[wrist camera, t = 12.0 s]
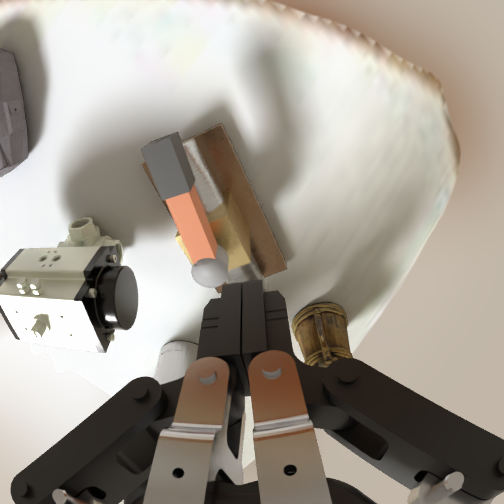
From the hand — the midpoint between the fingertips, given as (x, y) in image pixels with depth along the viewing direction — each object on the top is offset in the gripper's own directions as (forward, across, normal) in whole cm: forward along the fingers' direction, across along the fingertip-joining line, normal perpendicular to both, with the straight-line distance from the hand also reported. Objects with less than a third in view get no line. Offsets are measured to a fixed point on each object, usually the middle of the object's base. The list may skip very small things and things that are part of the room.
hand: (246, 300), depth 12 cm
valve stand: (+25, +4, +7) cm, 27 cm away
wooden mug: (+26, -7, +25) cm, 37 cm away
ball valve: (+26, +23, +7) cm, 35 cm away
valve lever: (+15, +5, +2) cm, 16 cm away
